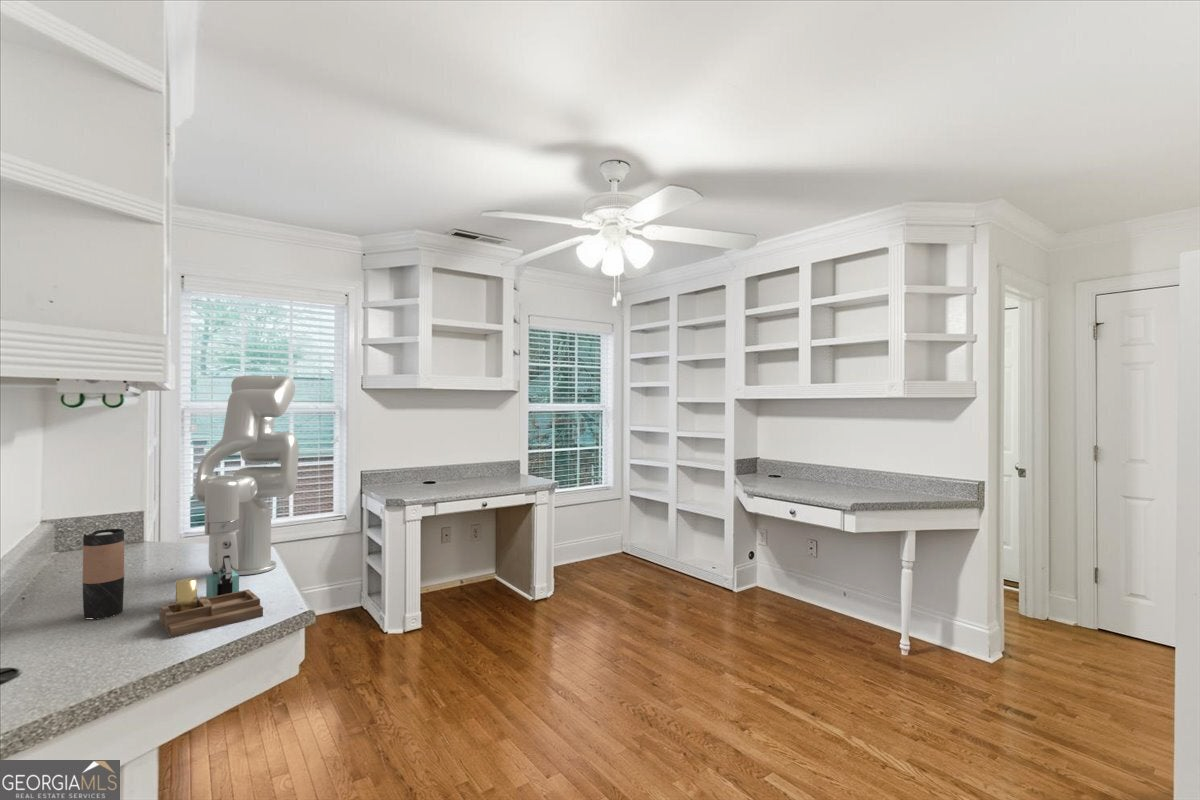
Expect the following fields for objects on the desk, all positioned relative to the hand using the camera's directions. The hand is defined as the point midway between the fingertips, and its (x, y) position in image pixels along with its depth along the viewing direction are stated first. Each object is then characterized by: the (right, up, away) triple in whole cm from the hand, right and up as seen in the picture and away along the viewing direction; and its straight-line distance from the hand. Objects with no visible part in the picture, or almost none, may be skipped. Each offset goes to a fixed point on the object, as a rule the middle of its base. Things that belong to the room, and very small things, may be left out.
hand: (221, 594), depth 149 cm
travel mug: (-21, -1, -11) cm, 24 cm away
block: (0, -1, 0) cm, 1 cm away
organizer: (+7, -1, -13) cm, 15 cm away
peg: (+3, +1, -17) cm, 17 cm away
